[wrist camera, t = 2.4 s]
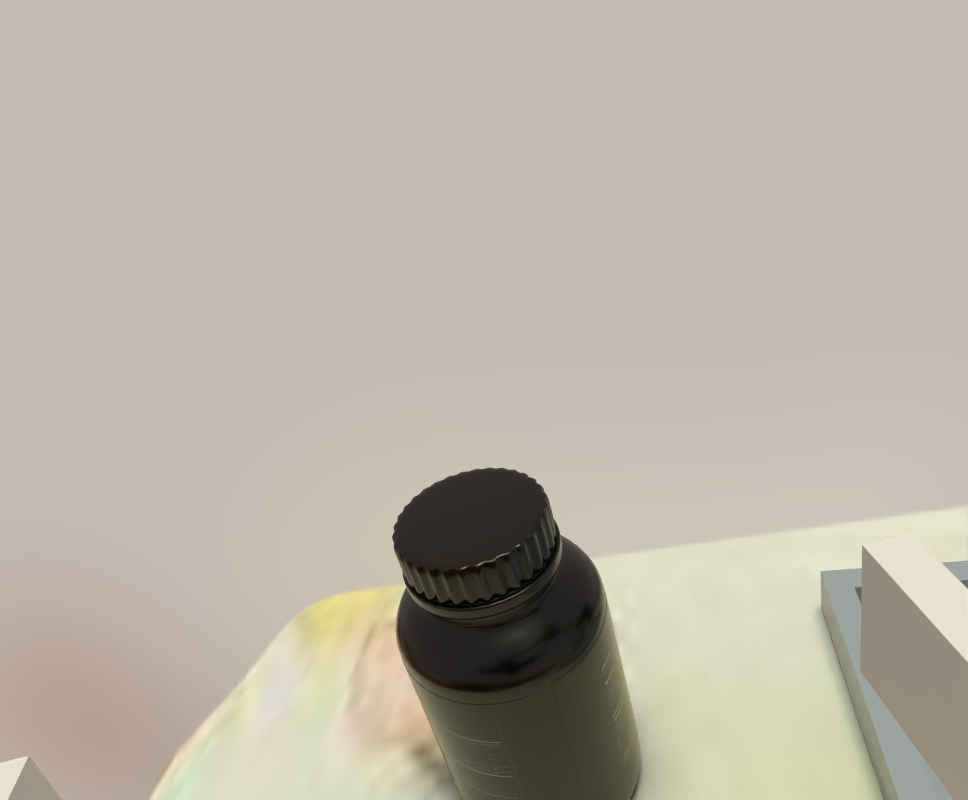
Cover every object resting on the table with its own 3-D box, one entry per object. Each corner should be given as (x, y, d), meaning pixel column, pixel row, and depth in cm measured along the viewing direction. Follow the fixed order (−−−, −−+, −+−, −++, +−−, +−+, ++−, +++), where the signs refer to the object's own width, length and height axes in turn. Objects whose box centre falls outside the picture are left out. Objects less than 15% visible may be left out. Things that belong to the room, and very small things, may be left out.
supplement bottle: (533, 665, 32) (466, 429, 27) (678, 740, 28) (633, 474, 22) (421, 794, 28) (314, 547, 23) (569, 906, 24) (481, 632, 18)
